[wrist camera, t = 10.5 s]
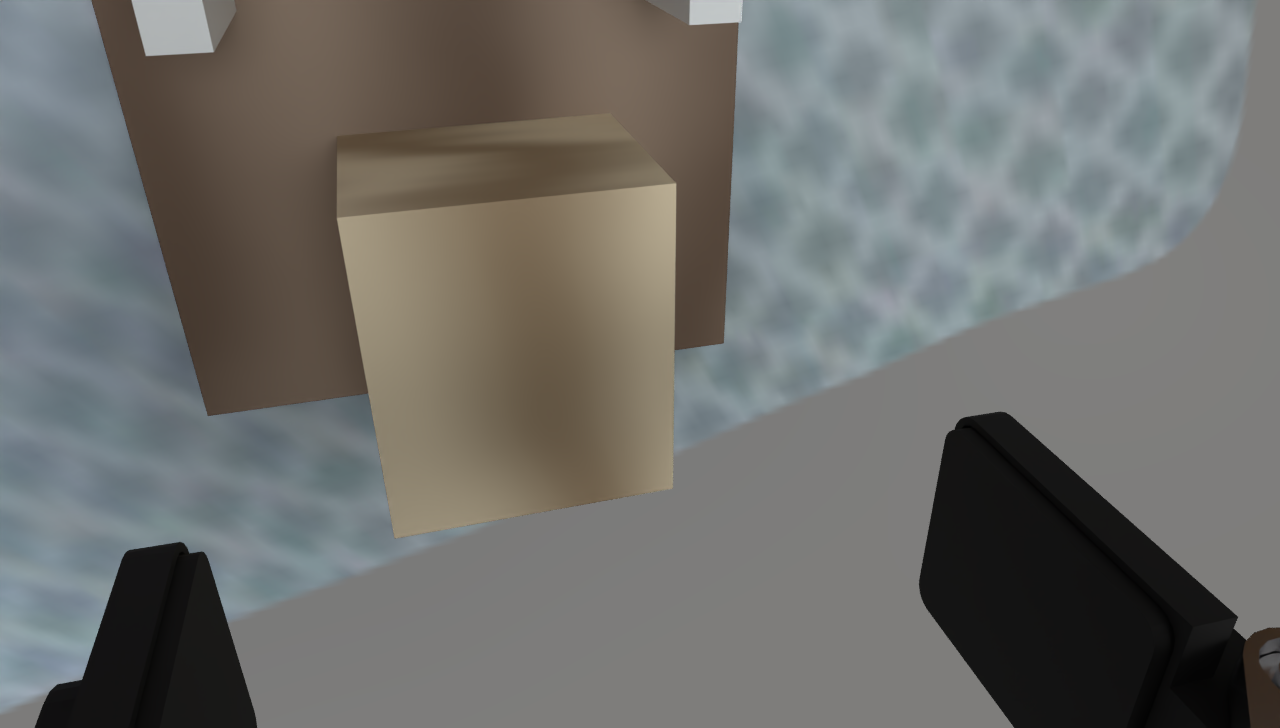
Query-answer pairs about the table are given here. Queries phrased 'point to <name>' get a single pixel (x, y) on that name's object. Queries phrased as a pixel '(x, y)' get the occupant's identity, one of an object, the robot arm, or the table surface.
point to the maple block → (512, 315)
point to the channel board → (383, 102)
